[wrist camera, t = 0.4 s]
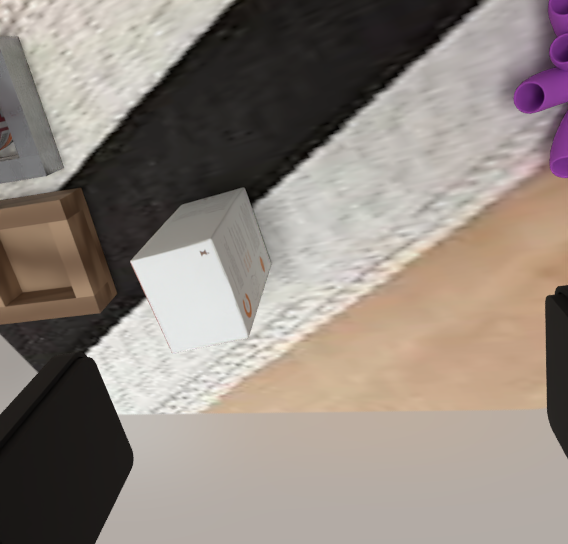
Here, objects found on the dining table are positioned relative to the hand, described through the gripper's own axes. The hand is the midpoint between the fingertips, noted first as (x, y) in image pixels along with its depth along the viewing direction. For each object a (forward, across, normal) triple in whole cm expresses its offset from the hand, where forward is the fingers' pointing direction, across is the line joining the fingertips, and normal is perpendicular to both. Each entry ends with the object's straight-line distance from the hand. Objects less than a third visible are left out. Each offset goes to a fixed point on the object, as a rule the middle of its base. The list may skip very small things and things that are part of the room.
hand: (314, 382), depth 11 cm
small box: (+36, +12, +8) cm, 38 cm away
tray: (+36, +29, +6) cm, 47 cm away
